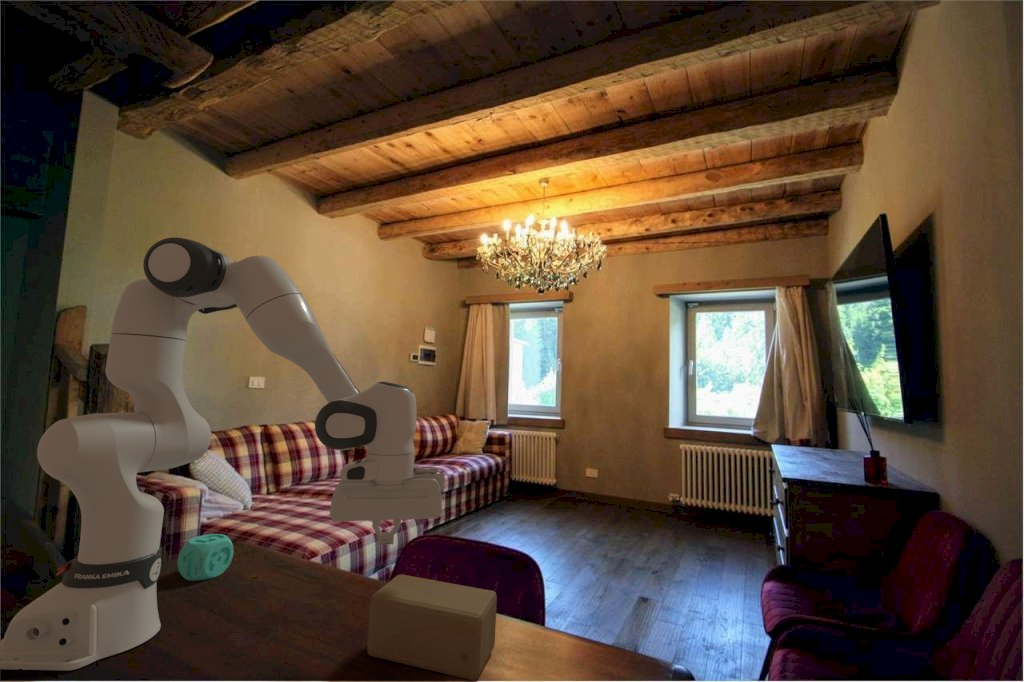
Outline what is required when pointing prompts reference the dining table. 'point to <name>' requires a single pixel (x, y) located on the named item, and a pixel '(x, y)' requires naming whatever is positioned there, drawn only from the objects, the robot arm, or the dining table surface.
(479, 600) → the wooden block
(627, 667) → the dining table surface
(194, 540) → the decorative dice
